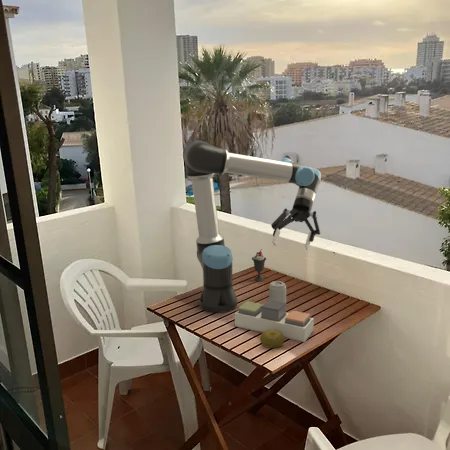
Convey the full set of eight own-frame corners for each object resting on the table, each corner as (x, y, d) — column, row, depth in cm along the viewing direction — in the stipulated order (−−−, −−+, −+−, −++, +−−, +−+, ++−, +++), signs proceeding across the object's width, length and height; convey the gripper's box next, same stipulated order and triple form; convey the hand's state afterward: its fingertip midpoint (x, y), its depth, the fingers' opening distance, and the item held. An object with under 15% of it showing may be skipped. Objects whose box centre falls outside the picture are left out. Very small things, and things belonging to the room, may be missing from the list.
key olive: (238, 322, 169) (238, 307, 167) (246, 316, 174) (246, 301, 173) (255, 326, 166) (254, 310, 164) (262, 319, 171) (262, 304, 170)
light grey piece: (234, 326, 168) (234, 313, 167) (246, 316, 176) (245, 304, 175) (304, 342, 156) (304, 328, 155) (313, 331, 163) (313, 318, 162)
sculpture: (271, 341, 149) (255, 332, 155) (271, 352, 150) (255, 343, 156) (289, 333, 154) (272, 325, 160) (289, 344, 154) (272, 336, 161)
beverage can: (287, 310, 180) (288, 281, 177) (282, 317, 175) (283, 287, 172) (272, 308, 183) (272, 279, 180) (266, 314, 177) (266, 285, 174)
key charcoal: (261, 322, 164) (261, 306, 162) (268, 315, 169) (269, 299, 168) (278, 326, 161) (278, 309, 159) (285, 318, 166) (285, 303, 165)
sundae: (262, 282, 210) (262, 250, 207) (249, 280, 214) (249, 248, 210) (269, 278, 216) (269, 247, 212) (256, 275, 219) (256, 245, 215)
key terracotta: (285, 333, 160) (285, 317, 159) (292, 326, 166) (292, 310, 164) (303, 337, 157) (303, 321, 156) (309, 329, 162) (309, 314, 161)
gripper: (335, 209, 189) (322, 254, 180) (278, 204, 201) (263, 246, 192) (332, 198, 183) (318, 245, 174) (273, 194, 195) (258, 237, 186)
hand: (289, 246), depth 183 cm, fingers open, 13 cm apart
